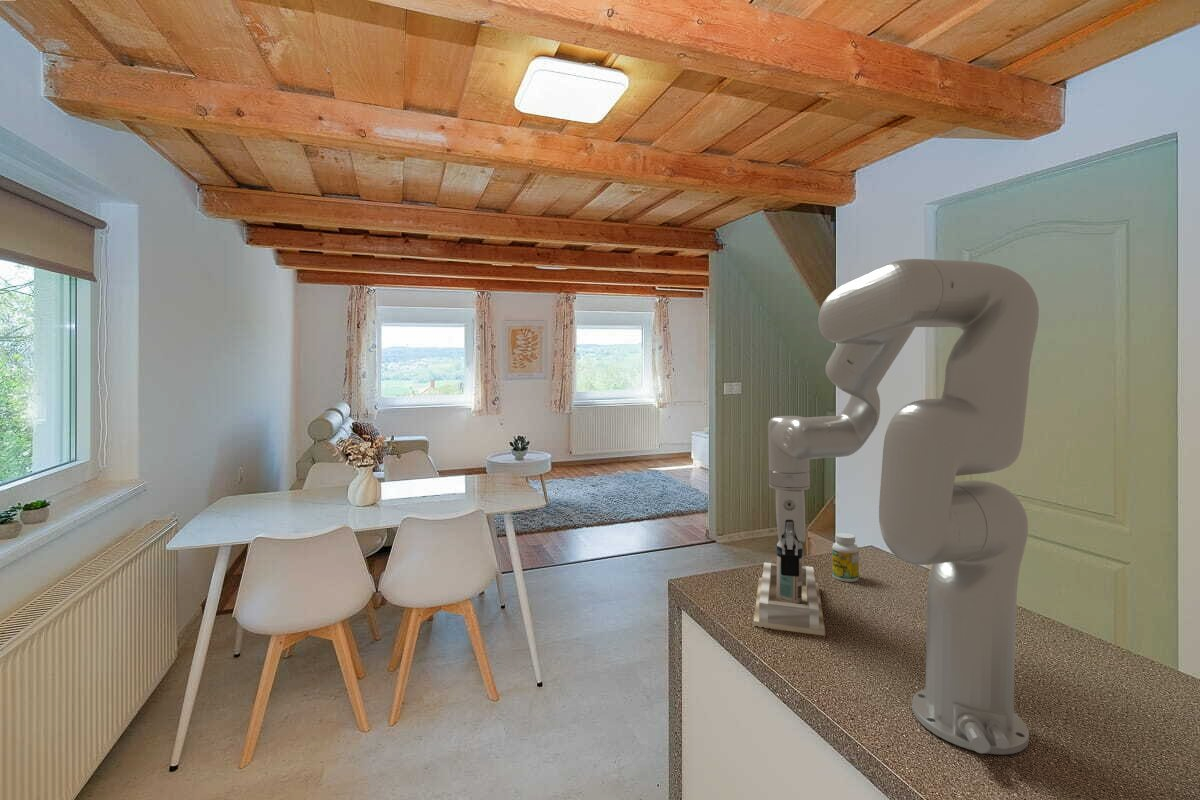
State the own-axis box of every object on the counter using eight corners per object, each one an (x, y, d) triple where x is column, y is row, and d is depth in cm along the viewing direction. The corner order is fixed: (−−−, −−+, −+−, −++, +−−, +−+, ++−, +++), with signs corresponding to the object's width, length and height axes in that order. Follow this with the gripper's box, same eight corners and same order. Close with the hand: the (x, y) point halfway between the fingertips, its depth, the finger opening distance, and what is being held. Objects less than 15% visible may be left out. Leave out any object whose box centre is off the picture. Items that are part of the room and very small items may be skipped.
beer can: (798, 596, 110) (799, 537, 109) (805, 606, 105) (805, 544, 104) (773, 595, 110) (774, 536, 110) (779, 605, 105) (779, 544, 105)
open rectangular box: (824, 635, 95) (825, 610, 95) (753, 626, 99) (753, 602, 99) (818, 588, 116) (818, 567, 116) (759, 582, 120) (759, 561, 120)
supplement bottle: (863, 579, 121) (864, 536, 121) (848, 584, 118) (849, 540, 118) (841, 571, 126) (842, 530, 125) (826, 576, 123) (827, 534, 122)
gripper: (811, 488, 97) (812, 584, 98) (808, 473, 113) (808, 555, 114) (767, 487, 99) (768, 580, 100) (770, 472, 116) (771, 552, 116)
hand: (790, 567), depth 107 cm, fingers open, 9 cm apart
